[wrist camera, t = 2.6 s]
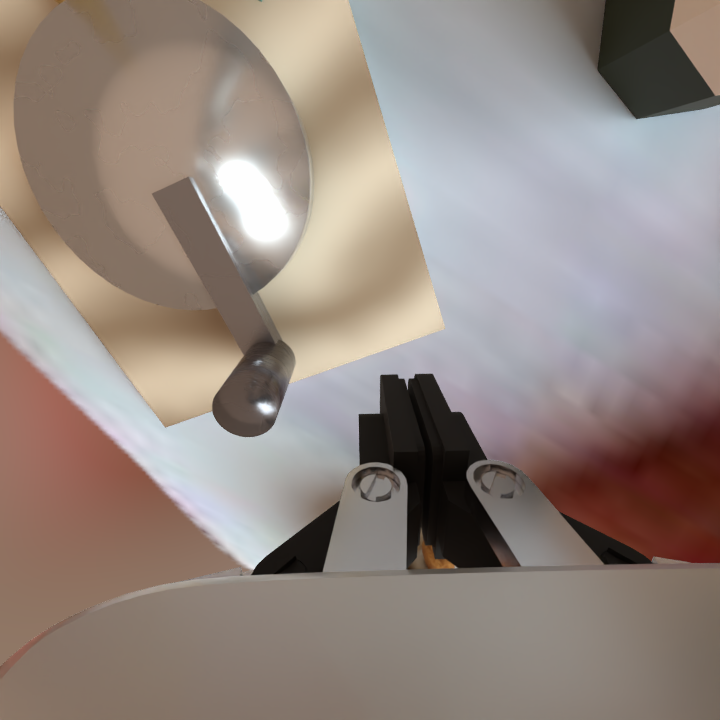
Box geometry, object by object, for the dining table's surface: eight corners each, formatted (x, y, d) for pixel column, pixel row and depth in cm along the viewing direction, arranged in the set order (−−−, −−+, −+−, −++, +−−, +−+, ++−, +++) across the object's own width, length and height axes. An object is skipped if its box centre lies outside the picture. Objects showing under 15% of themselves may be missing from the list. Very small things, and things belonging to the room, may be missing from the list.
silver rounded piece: (-48, 26, 14) (-349, -105, 8) (209, -126, 13) (71, -433, 7) (200, 398, 22) (139, 475, 16) (382, 332, 20) (393, 390, 14)
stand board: (-141, -28, 15) (-199, -55, 13) (257, -289, 12) (243, -360, 11) (175, 414, 24) (163, 429, 23) (439, 320, 22) (445, 329, 20)
